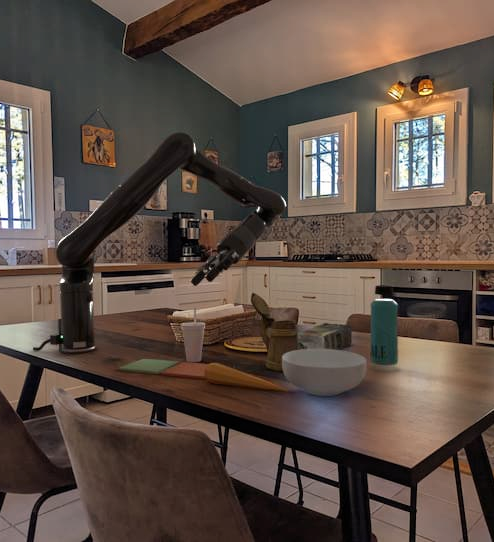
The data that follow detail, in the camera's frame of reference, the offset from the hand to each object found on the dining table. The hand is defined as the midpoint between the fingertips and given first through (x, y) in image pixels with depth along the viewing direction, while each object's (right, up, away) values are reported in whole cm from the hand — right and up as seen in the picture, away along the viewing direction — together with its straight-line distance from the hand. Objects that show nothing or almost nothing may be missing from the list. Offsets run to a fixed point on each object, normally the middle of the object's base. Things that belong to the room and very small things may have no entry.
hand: (200, 281), depth 135 cm
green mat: (-12, -21, -8) cm, 26 cm away
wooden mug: (+19, -21, -9) cm, 30 cm away
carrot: (+11, -22, -27) cm, 37 cm away
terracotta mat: (-1, -21, -13) cm, 25 cm away
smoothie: (-2, -21, -2) cm, 21 cm away
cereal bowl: (+27, -22, -31) cm, 46 cm away
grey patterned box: (+35, -20, +11) cm, 41 cm away
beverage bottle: (+45, -21, -13) cm, 51 cm away
